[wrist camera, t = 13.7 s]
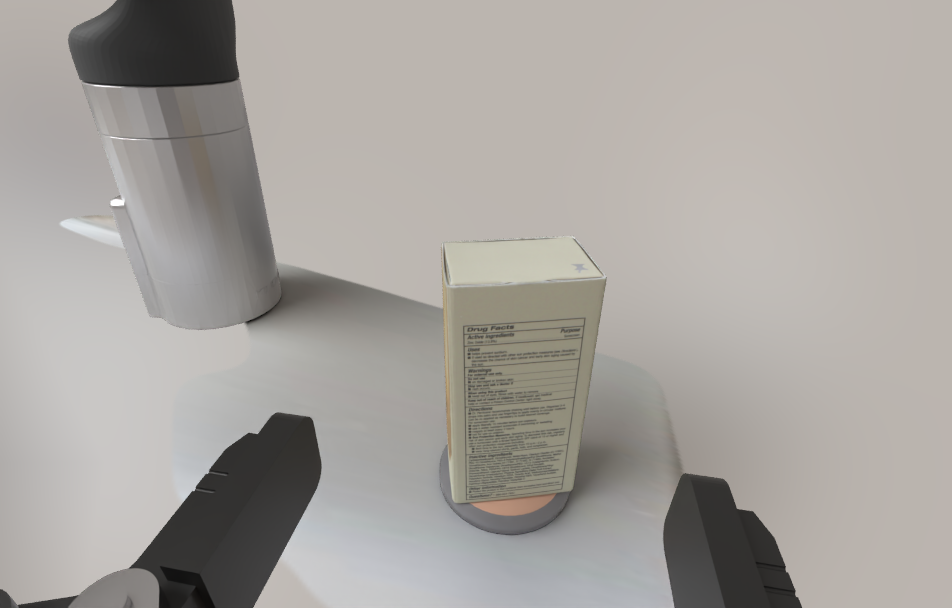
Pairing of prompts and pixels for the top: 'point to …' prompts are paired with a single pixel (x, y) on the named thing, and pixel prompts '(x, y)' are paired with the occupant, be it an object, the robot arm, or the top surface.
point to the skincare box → (517, 363)
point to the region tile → (504, 508)
